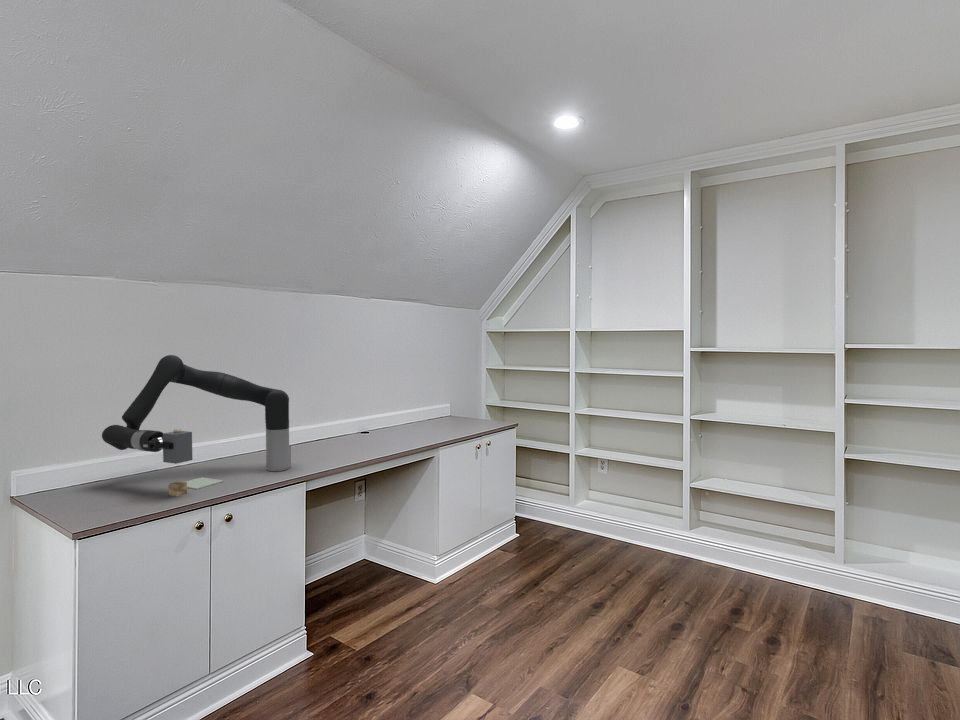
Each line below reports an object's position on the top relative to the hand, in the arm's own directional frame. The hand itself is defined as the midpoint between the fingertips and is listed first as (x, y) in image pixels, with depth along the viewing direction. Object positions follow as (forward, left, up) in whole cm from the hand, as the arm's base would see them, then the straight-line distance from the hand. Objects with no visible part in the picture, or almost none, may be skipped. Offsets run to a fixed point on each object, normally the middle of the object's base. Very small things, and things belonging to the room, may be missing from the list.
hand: (181, 444), depth 193 cm
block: (0, -2, -18) cm, 18 cm away
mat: (-13, -7, -18) cm, 23 cm away
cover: (0, -2, -6) cm, 6 cm away
